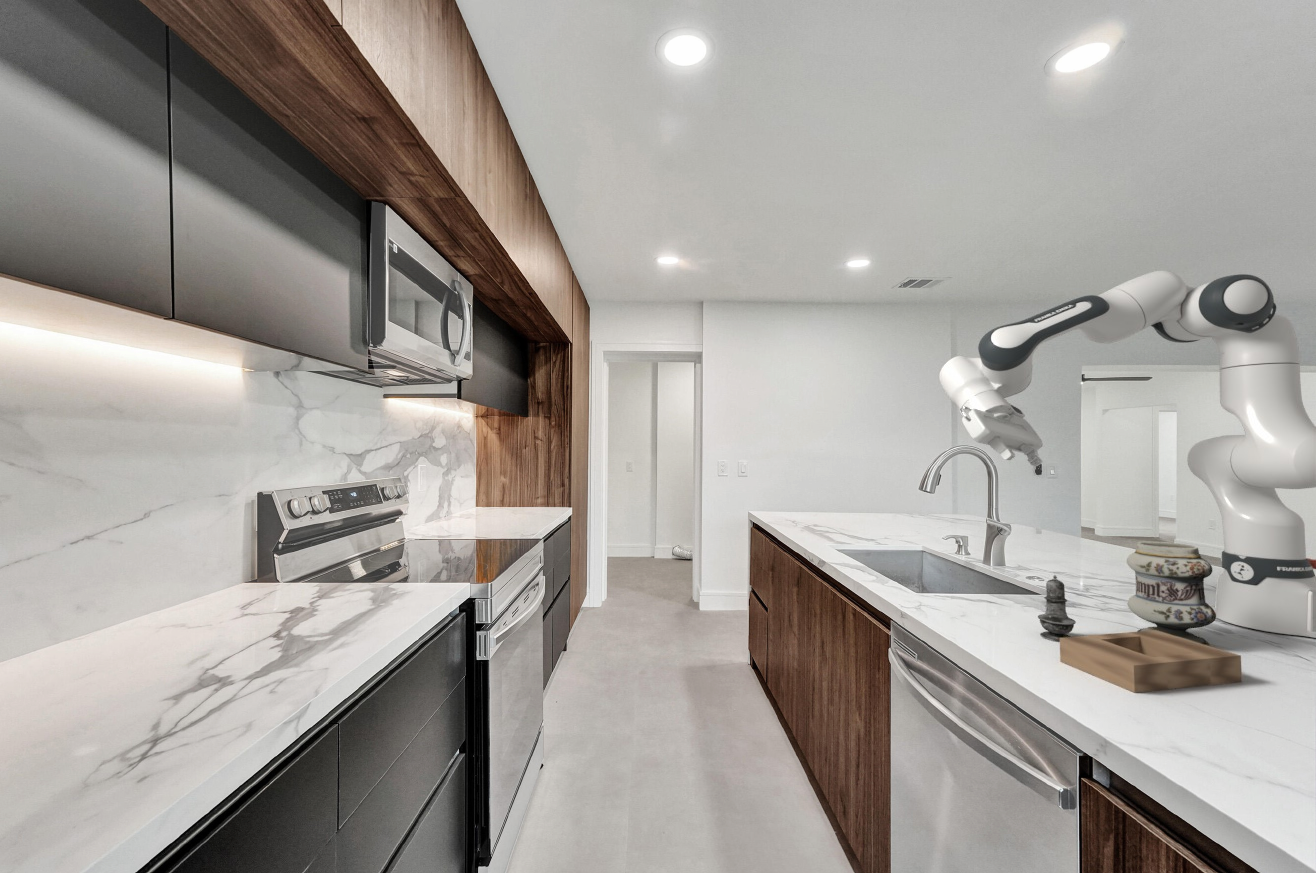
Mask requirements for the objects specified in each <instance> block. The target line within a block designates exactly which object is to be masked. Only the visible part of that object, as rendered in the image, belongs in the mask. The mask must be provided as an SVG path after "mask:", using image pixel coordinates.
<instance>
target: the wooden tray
mask: <svg viewBox="0 0 1316 873" xmlns="http://www.w3.org/2000/svg"><path fill="white" fill-rule="evenodd" d="M1059 659H1060V660H1059V661H1060V662H1061V663H1062V664H1065V665H1068V666H1070V667H1072V668H1075V669H1077V670H1079V671H1082V672H1085V673H1087V674H1089V675H1092V676H1093V677H1096V678H1099V679H1101V680H1103V681H1105V682H1108V683H1111V684H1113V685H1115V686H1118V687H1119V688H1122V689H1124V690H1127V691H1129V692H1132V693H1134V694H1136V693H1135V692H1138V693H1145V692H1157V691H1165V690H1174V689H1175V688H1176V689H1185V688H1193V687H1203V686H1212V685H1213V686H1214V685H1220V684H1221V685H1223V684H1232V683H1240V682H1243V674H1242V670H1243V669H1242V655H1240V654H1238V653H1233V652H1231V651H1226V650H1225V649H1220V648H1218V647H1214V646H1210V645H1209V646H1207V645H1204V644H1201V643H1197V642H1194V641H1191V640H1187V639H1184V638H1180V637H1177V636H1174V635H1170V634H1167V633H1164V632H1160V631H1157V630H1152V631H1139V632H1137V631H1130V632H1117V633H1105V634H1103V633H1102V634H1093V635H1092V634H1091V635H1079V636H1078V635H1076V636H1071V637H1064V638H1060V642H1059ZM1176 689H1175V690H1176Z"/></svg>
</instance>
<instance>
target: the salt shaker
mask: <svg viewBox="0 0 1316 873" xmlns="http://www.w3.org/2000/svg"><path fill="white" fill-rule="evenodd" d="M1052 577H1053V578H1052V579H1049V580H1047V581H1046V583H1045V584H1046V586H1045V588H1046V596H1044V599H1045V602H1046V606H1045V607H1046V608H1045V612H1044V613H1042V614H1039V615H1037V618H1038V619H1039V623H1040V625H1041V627H1042V628H1043V630H1045V631H1043V632H1040V633H1039V635H1040V637H1041V638H1043V639H1045V640H1049V641H1052V642H1058V643H1060V638H1064V637H1072V636H1071V635H1069V633H1071V632H1072V631H1073V629H1074V626H1075V624H1076V620H1075V619H1073V618H1071V617H1069V616H1068V614H1067V610H1066V608H1067V607H1066V605H1067V604H1066V603H1067V602H1068V599H1066V597H1065V596H1066V594H1065V593H1066V591H1065V589H1066V588H1065V584H1064V582H1063V581H1061V580H1059V579H1058V577H1057V575H1055V574H1054V575H1053V576H1052Z"/></svg>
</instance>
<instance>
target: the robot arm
mask: <svg viewBox="0 0 1316 873" xmlns="http://www.w3.org/2000/svg"><path fill="white" fill-rule="evenodd" d="M1276 311H1277V304H1276V303H1275V300H1274V294H1273V292H1272V289H1271V287H1269V285H1268V284H1267V283H1266V281H1264V280H1263V279H1262V278H1260V277H1258V276H1255V275H1252V274H1245V273H1244V274H1242V273H1241V274H1233V275H1226V276H1223V277H1219V278H1216V279H1214V280H1212V281H1210V282H1206V283H1204V284H1202V285H1201V284H1200V285H1198V286H1195V287H1192V286H1189V285H1186V283H1185V281H1184V280H1183V278H1182V277H1181V276H1180V275H1178V274H1177V273H1174V272H1172V271H1169V270H1155V271H1151V272H1148V273H1145V274H1143V275H1142V274H1141V275H1139V276H1137V277H1134V278H1132V279H1129V280H1126V281H1125V282H1122V283H1120V284H1118V285H1116V286H1114V287H1112V288H1110V289H1109V290H1106V291H1104V292H1101V294H1100V293H1099V294H1098V295H1092V294H1091V295H1084V296H1080V297H1078V298H1073V299H1072V300H1071V299H1070V300H1069V301H1066V302H1064V303H1062V304H1058V305H1056V306H1054V307H1051V308H1049V309H1047V310H1044V311H1042V312H1039V313H1037V314H1034V315H1032V316H1030V317H1027V318H1025V319H1023V320H1020V321H1016V322H1011V323H1009V324H1004V325H1000V326H997V327H995V328H993V329H991V330H989V331H988V332H987V333H985V334H984V335H983V336H982V337H981V339H980V341H979V343H978V354H979V357H968V356H963V355H957V356H954V357H952V358H951V359H949V360H947V362H946V363H944V365H943V366H942V367H941V369H940V371H939V376H938V378H939V383H940V385H941V387H942V390H944V393H945V394H946V395H947V397H948V399H949V400H950V401H951V403H953V404H954V405H956V406H957V408H958V410H959V413H960V415H961V416H962V417H961V422H962V424H963V427H964V428H965V429H966V431H967V432H968V434H969V437H970V438H972V439H973V440H974V441H975V442H977V443H978V444H983V445H986V446H987V445H988V446H990V448H991V449H993V450H994V451H995V452H996V453H997V454H999V455H1000V456H1001V458H1002V459H1003V460H1006V461H1011V460H1013V459H1015V457H1016V454H1015V453H1014V452H1018V453H1022V454H1024V456H1026V457H1027V461H1028V463H1029V464H1030V465H1031V466H1034V467H1038V466H1040V465H1041V464H1043V460H1042V458H1041V457H1040V456H1039V453H1038V451H1039V450H1040V449H1041V448H1042V447H1043V446H1044V445H1043V441H1042V439H1041V437H1040V436H1039V435H1038V433H1037V431H1035V429H1034V428H1033V426H1032V425H1031V424H1030V422H1028V420H1027V419H1025V417H1026V414H1025V413H1024V412H1023V410H1021V409H1020V408H1018V407H1017V406H1015V405H1013V404H1011V403H1010V402H1009V401H1008V400H1007V399H1006V398H1009V397H1012V396H1015V395H1018V394H1020V393H1021V392H1023V391H1025V390H1026V389H1027V388H1028V387H1029V386H1030V384H1031V382H1032V377H1033V357H1034V356H1033V355H1034V353H1035V352H1036V350H1037V349H1038V347H1039V346H1040V345H1042V344H1043V343H1046V342H1048V341H1050V340H1052V339H1055V338H1057V337H1060V336H1063V335H1065V334H1068V333H1070V332H1073V331H1075V330H1077V332H1079V333H1080V334H1081V335H1082V336H1084V338H1087V339H1088V340H1089V341H1092V342H1095V343H1099V344H1107V345H1108V344H1114V343H1117V342H1120V341H1122V340H1125V339H1127V338H1129V337H1131V336H1134V335H1135V334H1137V333H1139V332H1141V331H1143V330H1145V329H1147V328H1150V327H1152V328H1153V329H1154V330H1155V331H1156V333H1157V334H1158V335H1159V336H1160V337H1161V338H1163V339H1165V340H1167V341H1169V342H1173V343H1182V344H1185V343H1193V342H1197V341H1200V340H1205V339H1210V338H1211V339H1212V340H1213V341H1214V342H1215V344H1216V346H1217V348H1218V350H1219V355H1220V356H1219V404H1220V406H1221V407H1222V409H1224V410H1225V411H1226V412H1228V413H1230V414H1233V415H1234V416H1235V417H1236V418H1237V419H1238V421H1239V422H1240V424H1241V427H1242V428H1243V431H1244V434H1231V435H1229V434H1228V435H1220V436H1215V437H1211V438H1208V439H1204V440H1200V441H1198V442H1196V443H1195V444H1194V445H1192V446H1191V448H1190V449H1189V451H1188V453H1187V460H1186V462H1187V465H1188V468H1189V470H1190V472H1191V473H1192V474H1193V475H1194V476H1195V477H1197V478H1198V479H1199V480H1201V481H1202V482H1203V483H1204V485H1206V486H1207V488H1208V490H1209V491H1210V492H1211V494H1212V496H1213V498H1214V499H1215V501H1216V504H1217V506H1218V509H1219V512H1220V516H1221V521H1222V531H1223V548H1224V550H1223V551H1221V556H1220V561H1221V568H1223V569H1224V570H1223V572H1222V573H1221V574H1219V575H1218V576H1217V582H1216V589H1215V590H1216V594H1215V605H1210V606H1211V607H1212V608H1213V610H1214V611H1215V613H1216V619H1219V620H1221V621H1223V622H1226V623H1229V624H1233V625H1236V626H1240V627H1243V628H1247V629H1248V628H1249V629H1254V630H1258V631H1264V632H1268V633H1269V632H1270V633H1275V634H1282V635H1283V634H1284V635H1289V636H1291V635H1293V636H1300V637H1301V636H1302V637H1310V638H1315V639H1316V578H1315V577H1316V574H1315V571H1314V570H1316V559H1311V558H1307V554H1306V552H1307V550H1306V531H1305V522H1304V520H1303V518H1302V517H1301V515H1299V514H1298V513H1297V512H1295V511H1293V510H1292V509H1290V508H1289V507H1287V506H1286V505H1285V504H1284V502H1283V501H1282V500H1281V499H1280V497H1279V495H1278V493H1277V490H1276V489H1285V490H1286V489H1287V490H1302V489H1303V490H1305V489H1313V488H1316V425H1315V424H1314V422H1312V419H1311V418H1310V416H1309V415H1308V413H1307V411H1306V408H1305V406H1304V403H1303V398H1302V386H1301V385H1302V384H1301V361H1300V360H1301V358H1300V350H1299V343H1298V339H1297V335H1296V331H1295V328H1294V325H1293V323H1292V321H1291V320H1290V319H1289V318H1288V317H1286V316H1284V315H1280V314H1277V313H1276Z"/></svg>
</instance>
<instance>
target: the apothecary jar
mask: <svg viewBox="0 0 1316 873" xmlns="http://www.w3.org/2000/svg"><path fill="white" fill-rule="evenodd" d="M1126 564H1127V565H1128V567H1129V569H1131V570H1133V571H1134V575H1135V594H1133V595H1132V596H1130V597H1129V598H1128V600H1127V607H1128V609H1129V610H1130V612H1132V613H1133V614H1134V615H1135V616H1137V617H1138V618H1140V619H1142V620H1144V621H1146V622H1149V623H1152V624H1154V625H1156V626H1148V627H1144V628H1140V629H1138V630H1137V631H1136V632H1139V631H1152V630H1157V631H1160V632H1164V633H1167V634H1170V635H1174V636H1177V637H1180V638H1184V639H1187V640H1191V641H1194V642H1197V643H1201V644H1204V645H1207V646H1210V643H1209V642H1208V640H1206V639H1205V638H1203V637H1200V636H1198V635H1196V634H1195V633H1193V632H1190V631H1187V630H1189V629H1199V628H1203V627H1206V626H1209V625H1211V624H1212V623H1214V622H1215V621H1216V619H1217V617H1216V613H1215V611H1214V610H1213V608H1212V607H1211V606H1212V605H1210V604H1209V603H1207V602H1206V595H1205V588H1204V587H1205V586H1204V585H1205V582H1204V581H1205V580H1204V579H1206V578H1208V577H1210V576H1211V575H1212V573H1213V567H1212V565H1211V563H1209V562H1208V560H1206V559H1204V558H1202V556H1201V554H1200V550H1199V547H1198V546H1195V545H1191V544H1185V543H1177V542H1167V541H1166V542H1164V541H1138V542H1137V544H1136V548H1135V551H1134V552H1132V553H1130V554H1129V555H1128V556H1127V557H1126Z"/></svg>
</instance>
